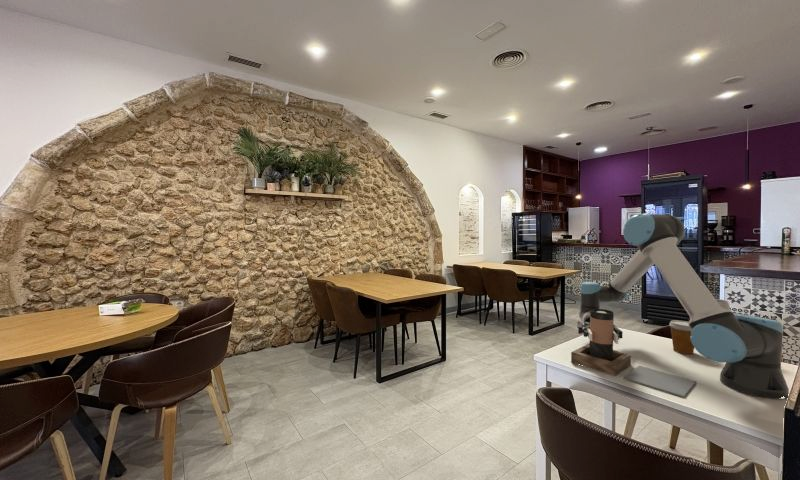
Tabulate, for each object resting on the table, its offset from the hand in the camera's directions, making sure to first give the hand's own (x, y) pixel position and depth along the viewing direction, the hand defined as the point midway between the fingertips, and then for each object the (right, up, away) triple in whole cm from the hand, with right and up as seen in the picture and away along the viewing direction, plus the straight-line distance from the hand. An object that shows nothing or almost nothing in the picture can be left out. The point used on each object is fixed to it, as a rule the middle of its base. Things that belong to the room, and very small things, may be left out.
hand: (603, 338), depth 121 cm
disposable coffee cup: (+44, -11, +18) cm, 49 cm away
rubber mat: (+13, -11, -9) cm, 20 cm away
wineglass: (+61, -11, +21) cm, 65 cm away
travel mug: (+2, -11, +5) cm, 12 cm away
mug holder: (+2, -11, +5) cm, 12 cm away
